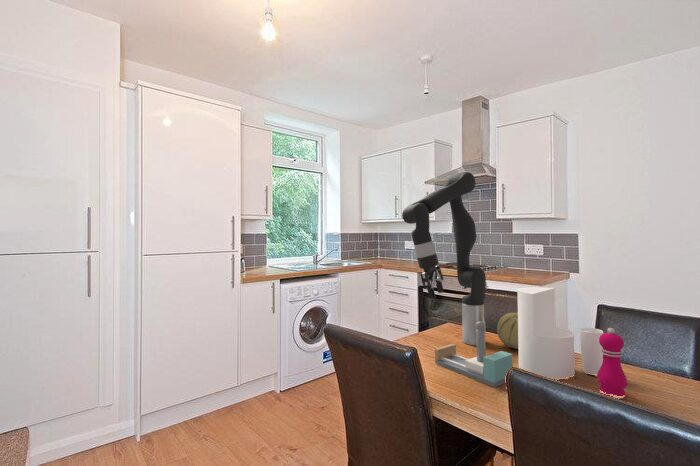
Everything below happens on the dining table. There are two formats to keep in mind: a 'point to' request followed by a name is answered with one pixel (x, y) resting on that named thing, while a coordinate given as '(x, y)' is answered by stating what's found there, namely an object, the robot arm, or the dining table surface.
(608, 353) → the pepper mill
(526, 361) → the white stepped block
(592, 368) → the drinking glass
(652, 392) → the dining table surface
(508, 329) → the cantaloupe
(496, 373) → the rail bed
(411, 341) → the dining table surface
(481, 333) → the carriage
